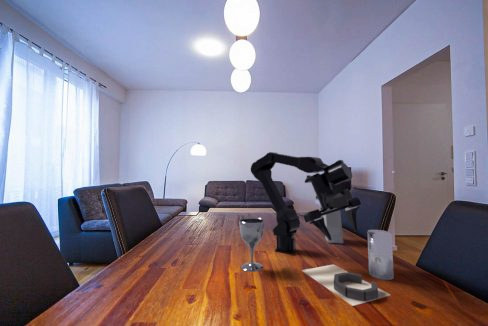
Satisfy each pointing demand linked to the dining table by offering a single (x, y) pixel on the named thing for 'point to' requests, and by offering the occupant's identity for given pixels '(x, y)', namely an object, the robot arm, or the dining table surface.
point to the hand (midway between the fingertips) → (343, 235)
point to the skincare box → (334, 226)
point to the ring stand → (346, 284)
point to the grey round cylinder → (380, 254)
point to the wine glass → (251, 239)
